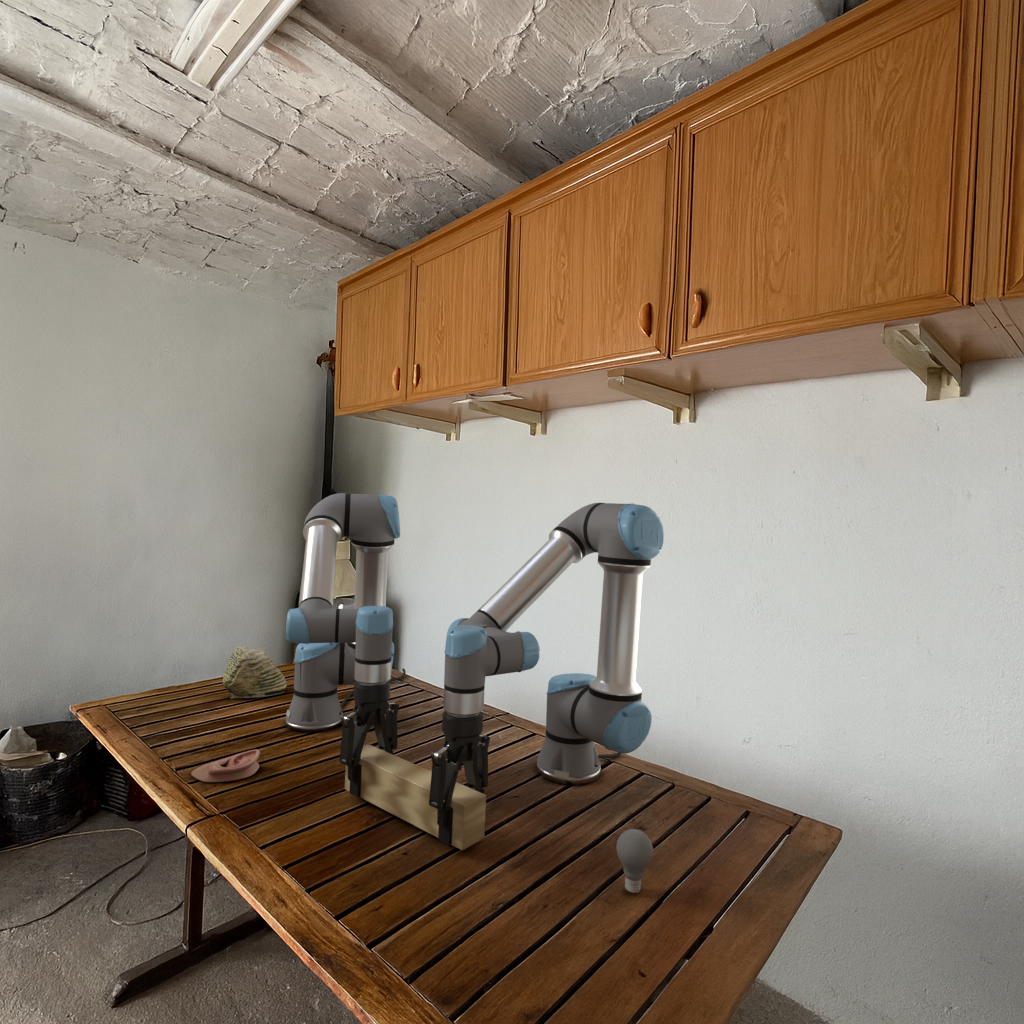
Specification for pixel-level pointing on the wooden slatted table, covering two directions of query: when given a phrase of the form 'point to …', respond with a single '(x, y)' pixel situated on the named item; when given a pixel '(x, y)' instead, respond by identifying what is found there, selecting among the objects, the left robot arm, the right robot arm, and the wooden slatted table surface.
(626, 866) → the light bulb
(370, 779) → the birch beam
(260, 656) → the fossil
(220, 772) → the anatomical model
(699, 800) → the wooden slatted table surface
